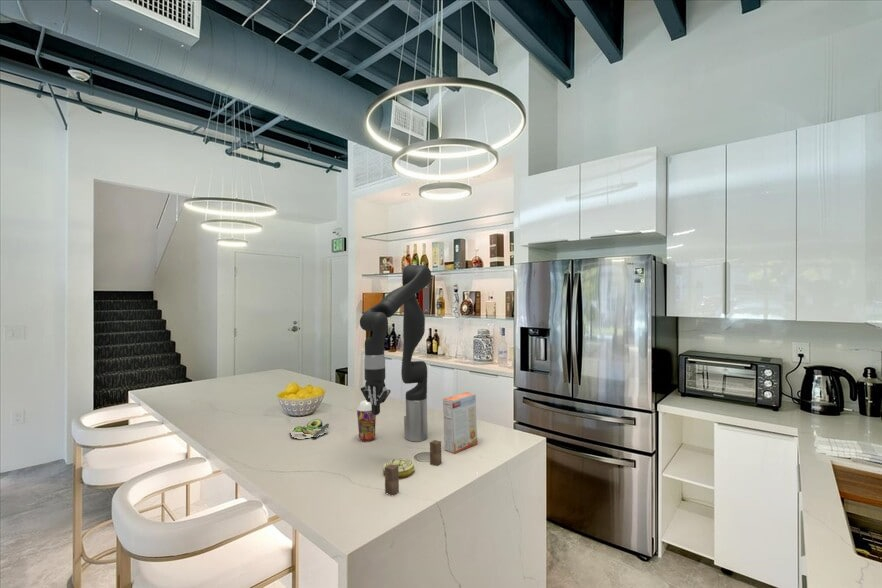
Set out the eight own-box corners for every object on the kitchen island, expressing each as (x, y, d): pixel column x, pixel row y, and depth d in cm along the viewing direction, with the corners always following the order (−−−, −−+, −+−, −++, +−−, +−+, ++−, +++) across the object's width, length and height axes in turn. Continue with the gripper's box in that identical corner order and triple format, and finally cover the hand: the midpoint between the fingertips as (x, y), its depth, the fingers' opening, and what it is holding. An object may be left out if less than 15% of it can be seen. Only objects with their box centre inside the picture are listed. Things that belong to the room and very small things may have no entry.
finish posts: (385, 493, 125) (384, 467, 125) (434, 461, 149) (434, 439, 149) (392, 495, 123) (392, 469, 123) (441, 463, 147) (441, 441, 147)
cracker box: (466, 441, 169) (465, 391, 169) (477, 444, 165) (476, 393, 165) (443, 450, 159) (442, 397, 160) (454, 454, 155) (453, 400, 155)
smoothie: (360, 444, 168) (359, 396, 168) (355, 438, 175) (354, 392, 176) (379, 440, 172) (378, 394, 172) (373, 435, 179) (372, 390, 179)
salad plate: (333, 438, 178) (333, 427, 178) (290, 444, 171) (290, 433, 171) (328, 425, 195) (328, 416, 195) (289, 431, 188) (289, 421, 188)
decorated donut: (391, 465, 146) (391, 455, 146) (418, 468, 143) (418, 458, 143) (378, 477, 137) (378, 466, 137) (407, 481, 133) (406, 470, 133)
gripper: (395, 366, 145) (396, 414, 145) (368, 363, 153) (369, 409, 152) (381, 369, 139) (382, 419, 139) (354, 367, 146) (355, 414, 146)
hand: (375, 414), depth 146 cm, fingers closed
